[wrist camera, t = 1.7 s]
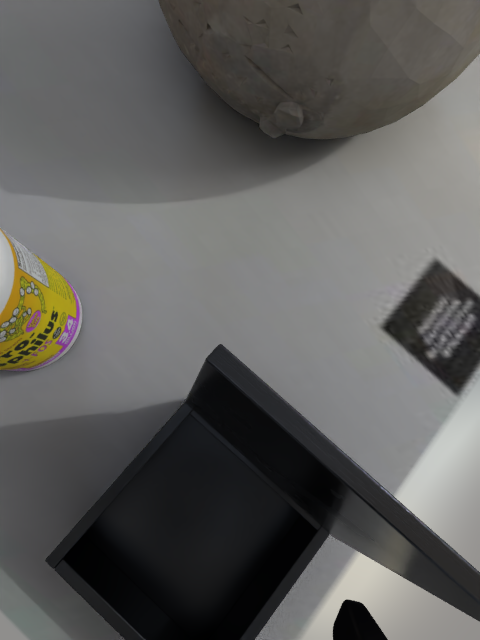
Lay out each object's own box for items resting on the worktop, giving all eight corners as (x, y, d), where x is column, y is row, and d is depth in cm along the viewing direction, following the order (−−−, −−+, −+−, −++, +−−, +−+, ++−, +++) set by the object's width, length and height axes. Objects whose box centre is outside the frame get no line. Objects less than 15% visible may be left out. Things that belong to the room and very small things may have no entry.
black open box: (202, 658, 20) (201, 715, 16) (72, 531, 21) (44, 561, 17) (314, 506, 22) (334, 529, 18) (192, 396, 23) (188, 397, 19)
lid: (536, 655, 8) (544, 628, 8) (204, 359, 9) (220, 342, 9) (333, 537, 18) (339, 526, 18) (184, 402, 19) (192, 393, 19)
